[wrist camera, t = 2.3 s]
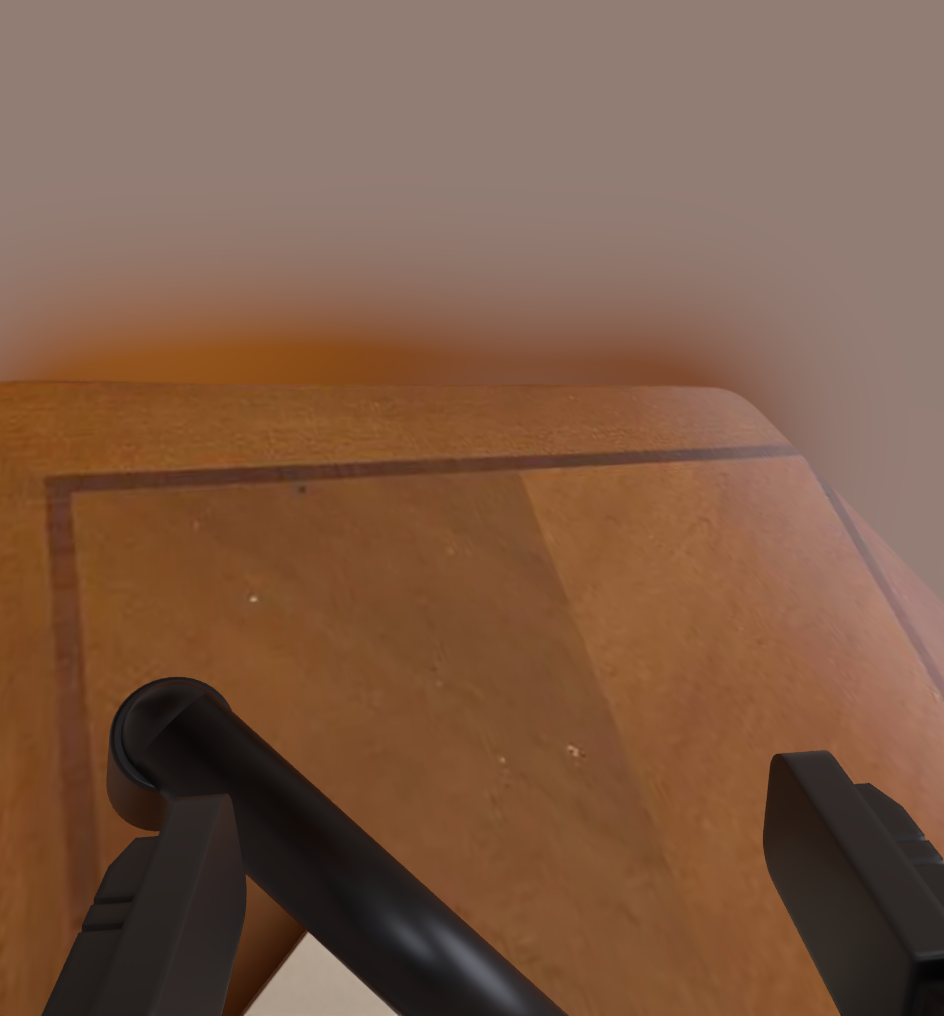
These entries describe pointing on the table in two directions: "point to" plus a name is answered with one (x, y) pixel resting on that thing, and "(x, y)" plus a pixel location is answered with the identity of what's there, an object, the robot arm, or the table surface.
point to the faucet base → (314, 987)
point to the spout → (309, 856)
